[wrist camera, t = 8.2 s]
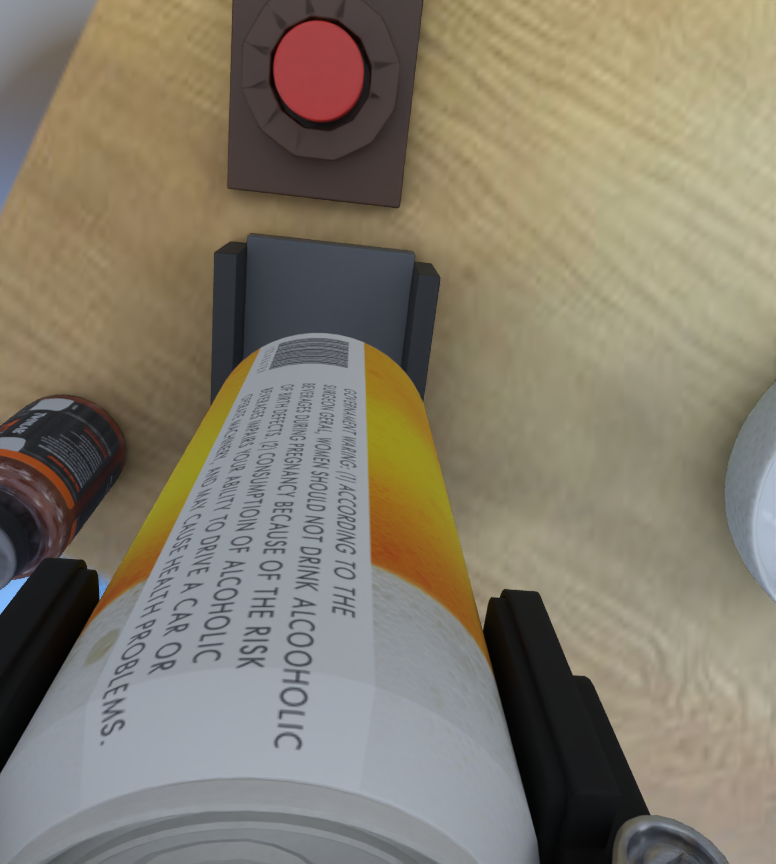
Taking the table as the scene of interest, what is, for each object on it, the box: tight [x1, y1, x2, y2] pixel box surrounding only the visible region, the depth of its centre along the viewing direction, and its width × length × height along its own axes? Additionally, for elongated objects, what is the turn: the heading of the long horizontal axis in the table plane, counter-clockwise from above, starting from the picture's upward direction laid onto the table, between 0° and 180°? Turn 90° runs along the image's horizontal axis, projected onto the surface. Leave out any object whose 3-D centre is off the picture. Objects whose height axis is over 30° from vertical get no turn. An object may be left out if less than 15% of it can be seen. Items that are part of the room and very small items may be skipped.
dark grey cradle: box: [211, 233, 440, 405], centre depth 31 cm, size 12×16×14 cm
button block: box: [227, 0, 423, 208], centre depth 31 cm, size 8×10×3 cm
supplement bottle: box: [0, 395, 125, 590], centre depth 33 cm, size 6×6×11 cm
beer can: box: [0, 333, 540, 864], centre depth 14 cm, size 6×6×15 cm
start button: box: [273, 20, 364, 123], centre depth 29 cm, size 4×4×2 cm
